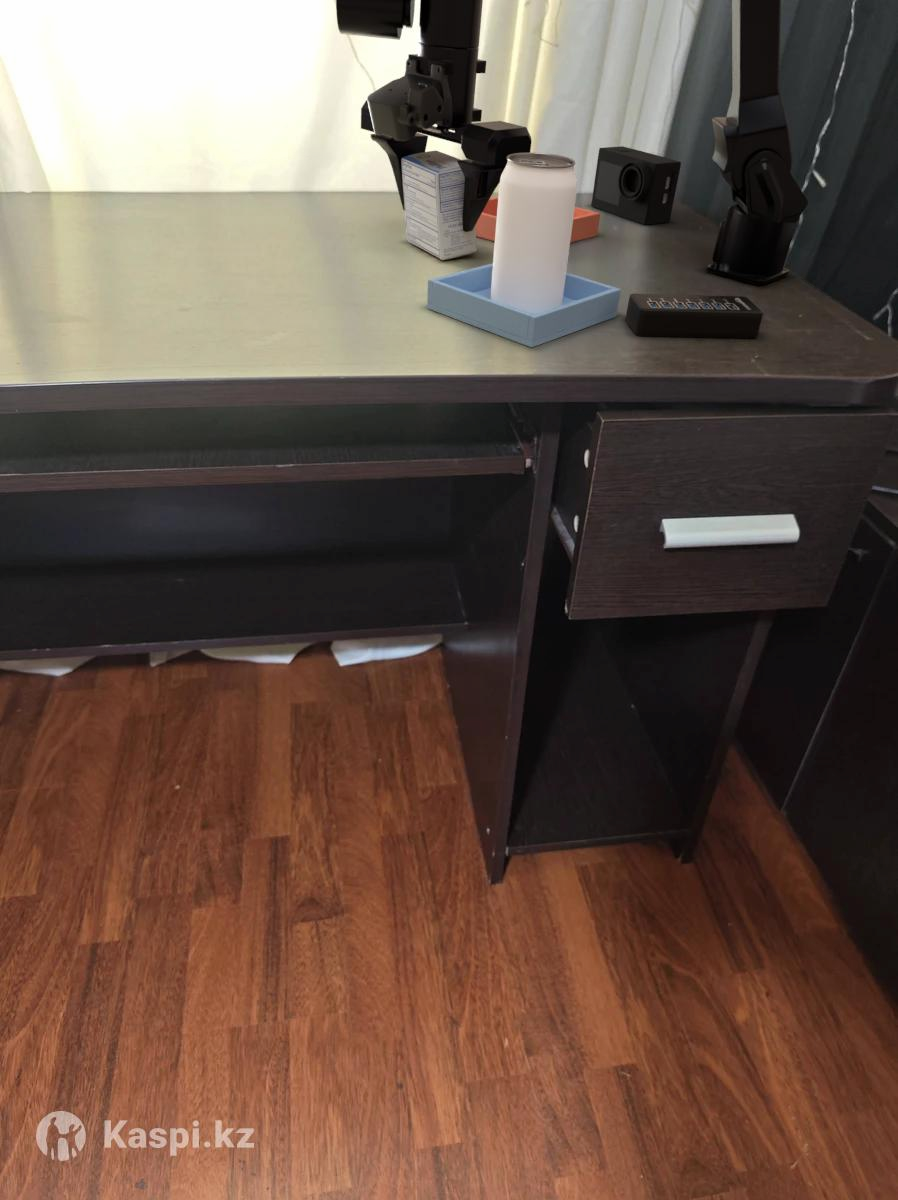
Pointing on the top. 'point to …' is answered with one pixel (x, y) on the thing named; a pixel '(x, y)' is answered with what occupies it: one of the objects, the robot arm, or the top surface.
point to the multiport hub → (693, 316)
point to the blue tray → (472, 305)
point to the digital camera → (635, 184)
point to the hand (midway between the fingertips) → (436, 220)
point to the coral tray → (581, 228)
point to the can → (533, 231)
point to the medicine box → (436, 205)
